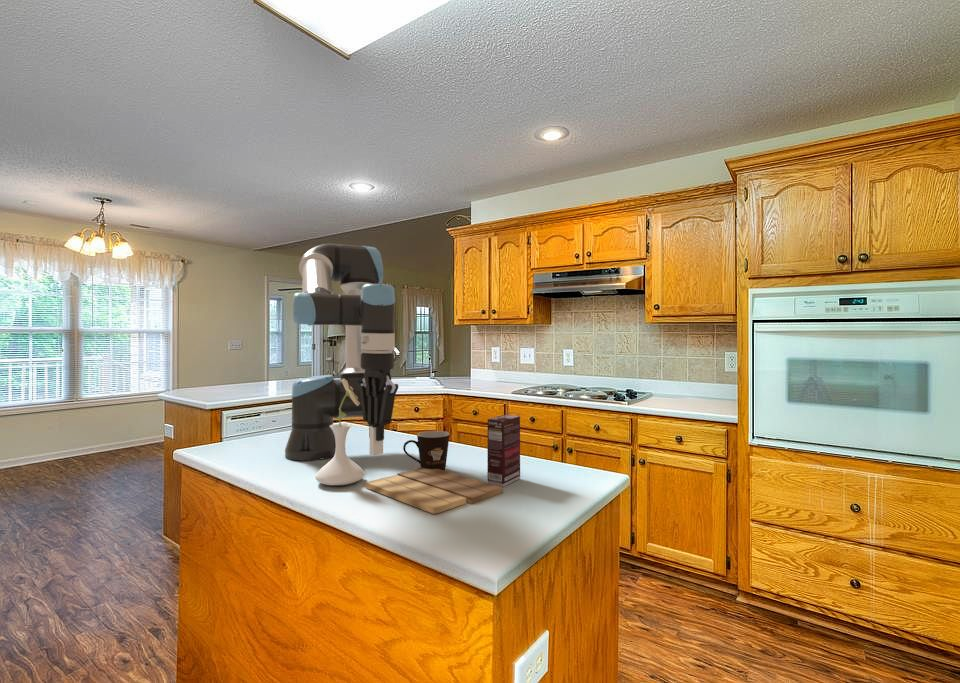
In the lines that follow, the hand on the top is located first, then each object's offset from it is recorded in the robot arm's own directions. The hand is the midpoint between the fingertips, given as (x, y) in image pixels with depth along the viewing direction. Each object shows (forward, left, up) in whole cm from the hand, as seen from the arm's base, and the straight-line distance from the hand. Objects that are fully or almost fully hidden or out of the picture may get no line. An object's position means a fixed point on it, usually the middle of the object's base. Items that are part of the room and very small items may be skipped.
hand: (376, 453), depth 109 cm
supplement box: (+17, +25, -9) cm, 32 cm away
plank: (+10, +3, -8) cm, 13 cm away
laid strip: (+10, +14, -8) cm, 19 cm away
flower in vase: (-11, -2, -9) cm, 14 cm away
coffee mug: (-4, +19, -9) cm, 21 cm away
